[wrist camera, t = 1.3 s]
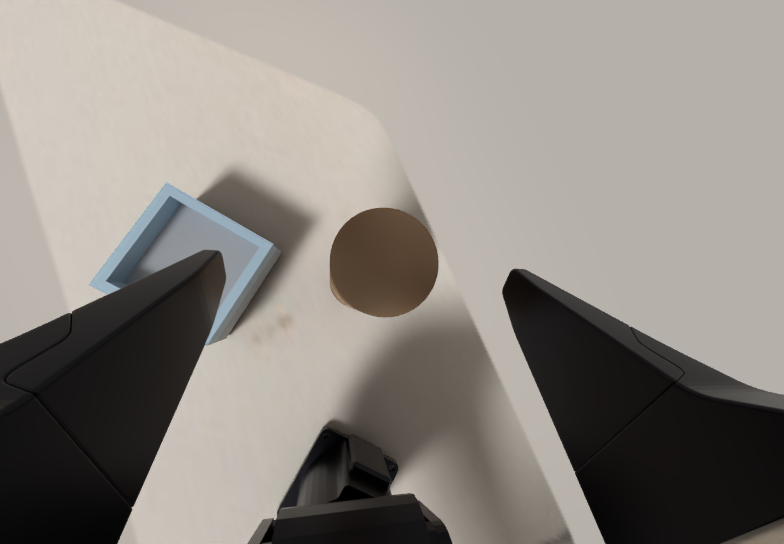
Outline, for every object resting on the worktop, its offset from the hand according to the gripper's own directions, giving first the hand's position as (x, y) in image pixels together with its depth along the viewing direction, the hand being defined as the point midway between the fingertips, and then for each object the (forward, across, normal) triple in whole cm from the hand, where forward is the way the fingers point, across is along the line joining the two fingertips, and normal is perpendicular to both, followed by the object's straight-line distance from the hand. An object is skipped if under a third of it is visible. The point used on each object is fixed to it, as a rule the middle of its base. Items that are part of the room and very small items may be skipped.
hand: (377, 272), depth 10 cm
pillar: (+11, 0, +9) cm, 14 cm away
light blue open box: (+12, +10, +9) cm, 18 cm away
